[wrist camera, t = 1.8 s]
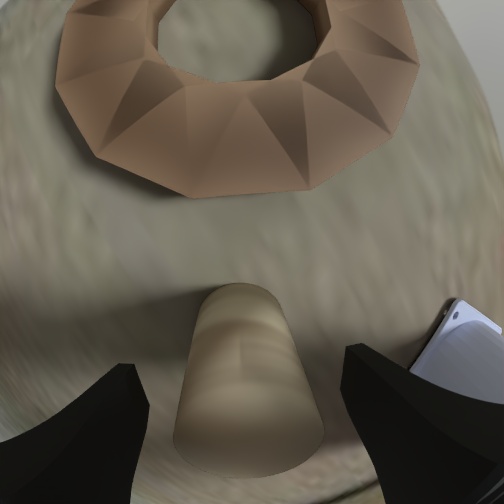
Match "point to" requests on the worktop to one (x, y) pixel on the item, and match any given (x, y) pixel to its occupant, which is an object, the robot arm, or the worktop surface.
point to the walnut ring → (235, 99)
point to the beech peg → (245, 390)
